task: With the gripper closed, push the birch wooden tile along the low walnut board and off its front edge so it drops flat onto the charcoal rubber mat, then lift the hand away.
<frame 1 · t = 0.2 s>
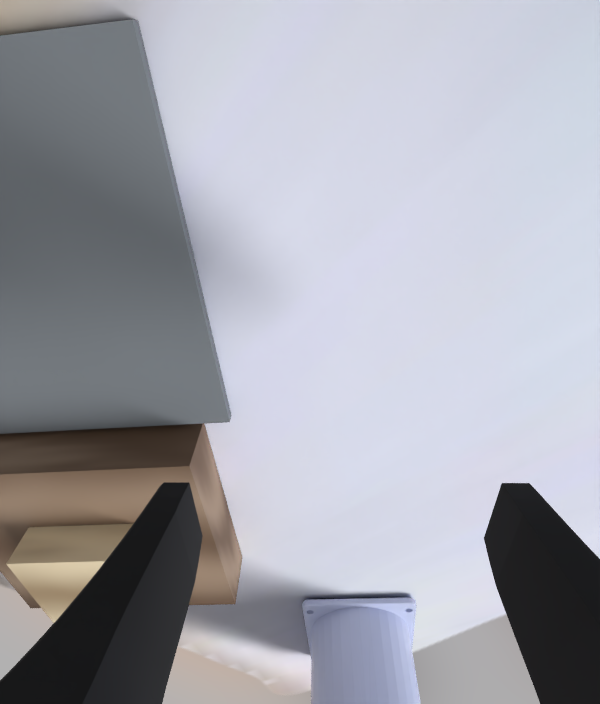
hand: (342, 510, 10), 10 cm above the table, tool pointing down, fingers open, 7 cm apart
charcoal mat: (9, 281, 18), on the table
birch tile: (106, 564, 24), point 3 cm above the table, touching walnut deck
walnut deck: (118, 502, 26), on the table
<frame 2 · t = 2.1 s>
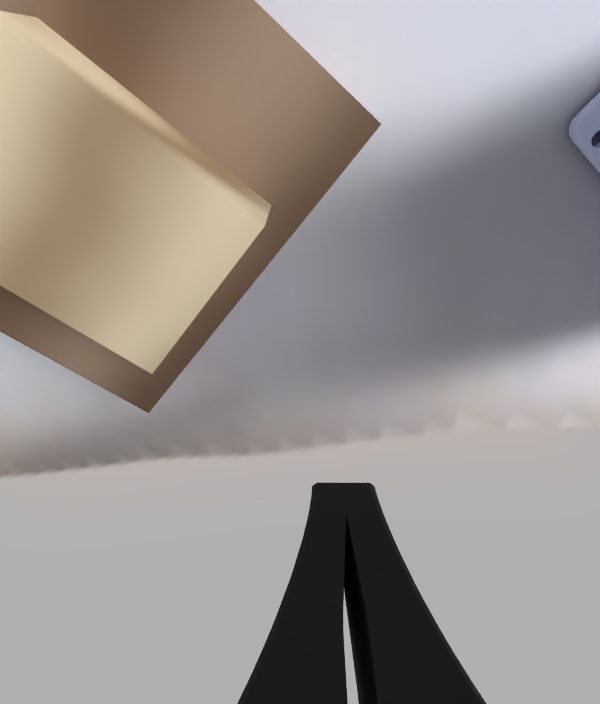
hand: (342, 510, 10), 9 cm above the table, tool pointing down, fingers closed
birch tile: (116, 209, 13), point 3 cm above the table, touching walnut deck
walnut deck: (109, 157, 15), on the table
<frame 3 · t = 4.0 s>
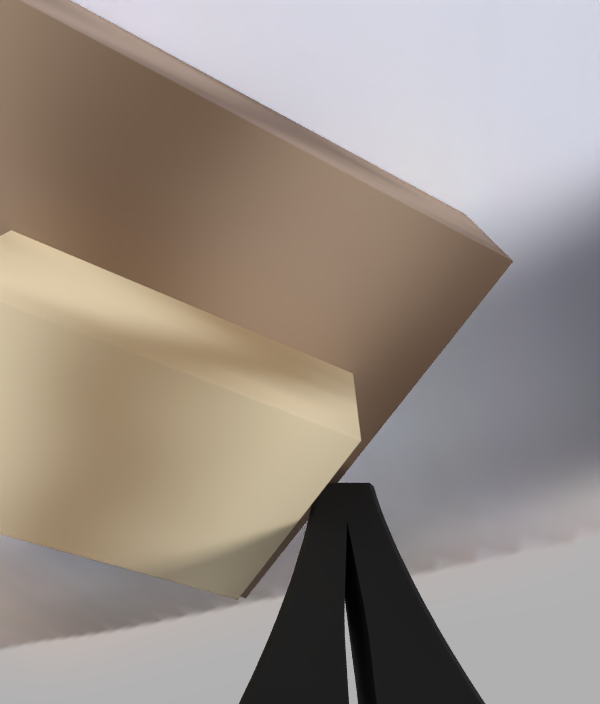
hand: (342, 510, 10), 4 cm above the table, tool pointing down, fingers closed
birch tile: (156, 411, 10), point 3 cm above the table, touching gripper, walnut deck
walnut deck: (148, 328, 12), on the table
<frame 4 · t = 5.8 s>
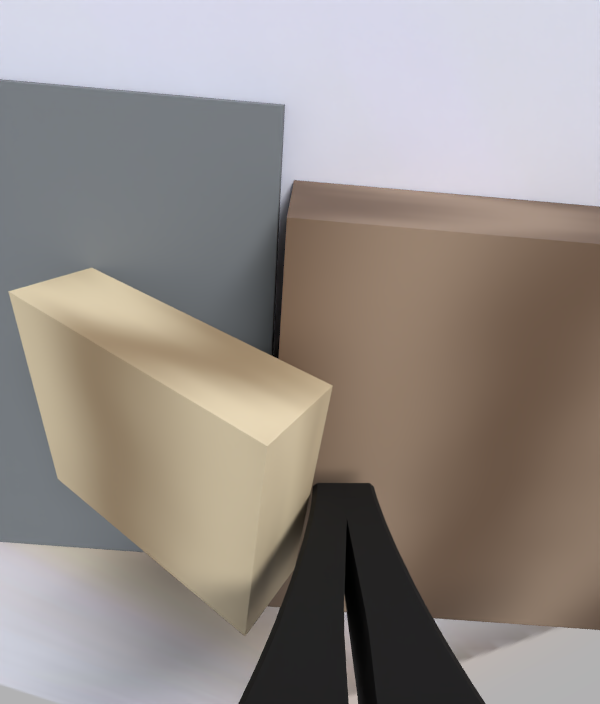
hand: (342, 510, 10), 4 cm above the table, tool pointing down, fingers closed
charcoal mat: (11, 377, 13), on the table
birch tile: (195, 420, 11), point 2 cm above the table, tilted 32°, touching charcoal mat, gripper
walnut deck: (470, 413, 14), on the table
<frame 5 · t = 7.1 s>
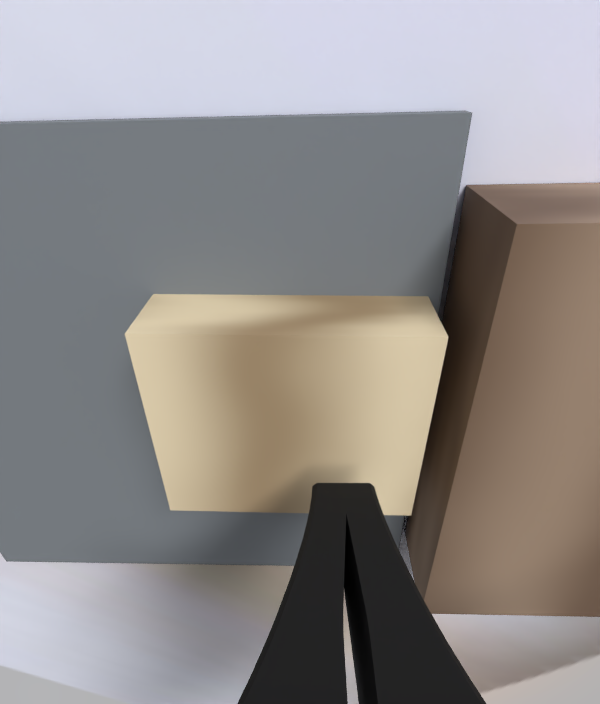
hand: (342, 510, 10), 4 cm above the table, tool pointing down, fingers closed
charcoal mat: (163, 404, 14), on the table
birch tile: (291, 388, 13), resting on charcoal mat
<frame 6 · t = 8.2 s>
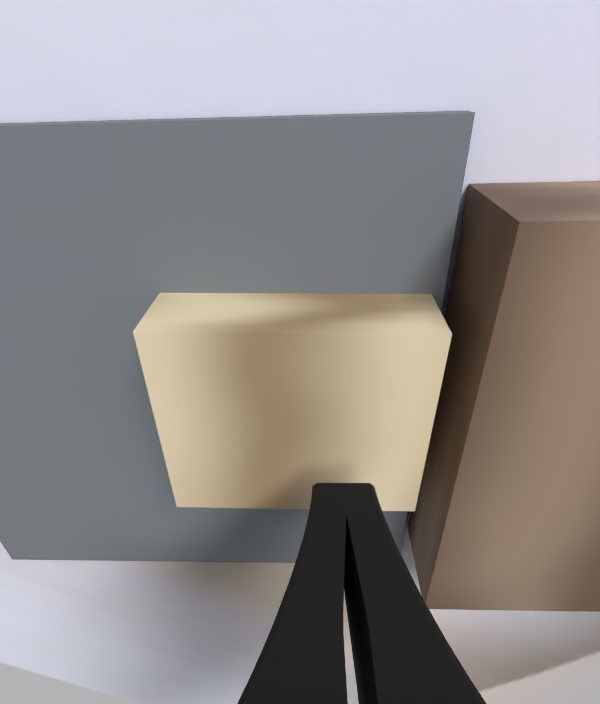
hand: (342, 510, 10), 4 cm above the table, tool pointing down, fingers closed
charcoal mat: (168, 402, 14), on the table
birch tile: (295, 386, 13), resting on charcoal mat
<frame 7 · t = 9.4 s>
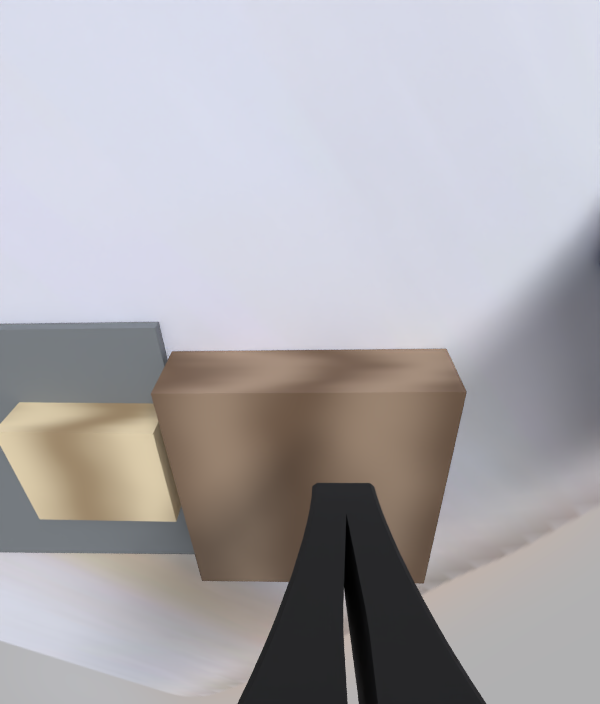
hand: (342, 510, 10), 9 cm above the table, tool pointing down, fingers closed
charcoal mat: (41, 455, 23), on the table
birch tile: (108, 448, 22), resting on charcoal mat
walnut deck: (310, 455, 23), on the table
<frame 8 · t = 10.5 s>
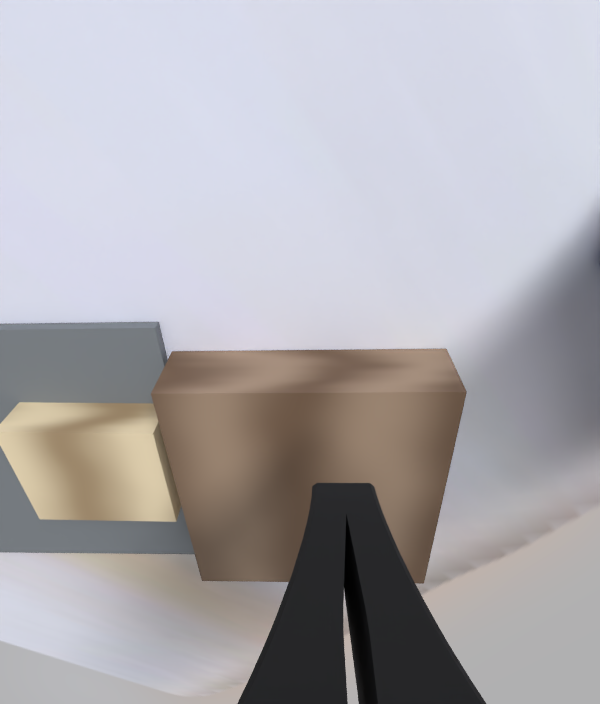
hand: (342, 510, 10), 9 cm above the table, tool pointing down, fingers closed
charcoal mat: (41, 455, 23), on the table
birch tile: (108, 448, 22), resting on charcoal mat
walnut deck: (310, 455, 23), on the table
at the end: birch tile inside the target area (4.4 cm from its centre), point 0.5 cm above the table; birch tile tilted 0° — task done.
